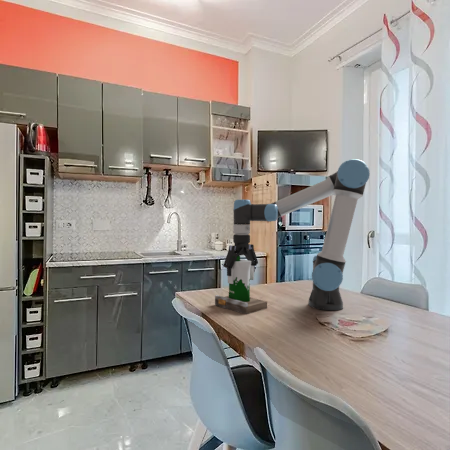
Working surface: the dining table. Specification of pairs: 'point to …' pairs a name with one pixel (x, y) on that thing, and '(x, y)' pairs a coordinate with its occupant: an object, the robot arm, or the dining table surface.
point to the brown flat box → (240, 304)
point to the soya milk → (240, 280)
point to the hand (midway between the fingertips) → (241, 281)
